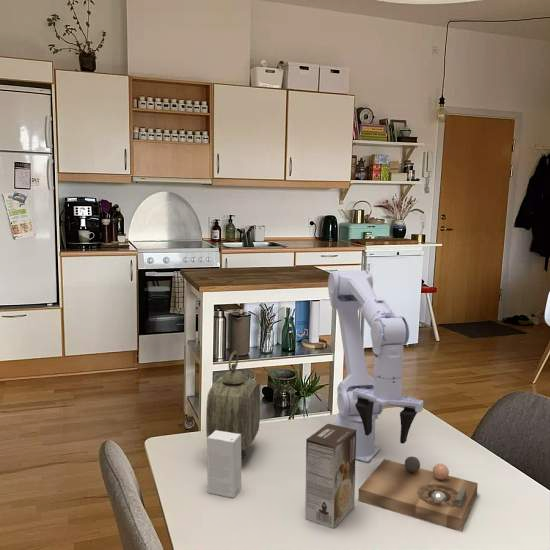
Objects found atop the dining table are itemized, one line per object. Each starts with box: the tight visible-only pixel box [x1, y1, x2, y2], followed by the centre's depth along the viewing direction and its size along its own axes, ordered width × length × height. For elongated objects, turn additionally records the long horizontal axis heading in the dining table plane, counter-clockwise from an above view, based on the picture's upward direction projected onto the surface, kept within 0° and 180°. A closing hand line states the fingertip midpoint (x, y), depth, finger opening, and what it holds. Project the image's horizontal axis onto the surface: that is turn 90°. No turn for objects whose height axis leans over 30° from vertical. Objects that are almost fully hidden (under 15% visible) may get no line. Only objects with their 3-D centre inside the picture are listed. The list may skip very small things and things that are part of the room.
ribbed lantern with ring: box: [205, 350, 261, 458], centre depth 129 cm, size 14×9×25 cm, turn 168°
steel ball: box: [430, 491, 447, 502], centre depth 110 cm, size 3×3×3 cm
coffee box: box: [304, 423, 357, 529], centre depth 107 cm, size 9×6×16 cm
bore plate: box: [357, 458, 479, 532], centre depth 114 cm, size 20×15×4 cm
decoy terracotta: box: [432, 463, 450, 480], centre depth 116 cm, size 3×3×3 cm
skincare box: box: [206, 430, 242, 498], centre depth 115 cm, size 6×4×12 cm
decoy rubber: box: [404, 456, 421, 472], centre depth 119 cm, size 3×3×3 cm
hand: (385, 437), depth 118 cm, fingers open, 7 cm apart
